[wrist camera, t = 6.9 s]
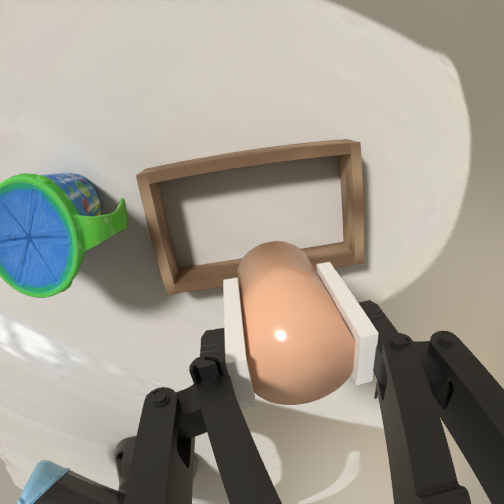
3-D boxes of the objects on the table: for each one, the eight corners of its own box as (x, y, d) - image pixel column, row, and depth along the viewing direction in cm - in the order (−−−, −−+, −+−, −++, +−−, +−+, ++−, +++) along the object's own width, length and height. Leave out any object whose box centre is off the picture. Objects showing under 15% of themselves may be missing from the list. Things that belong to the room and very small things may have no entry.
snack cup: (141, 156, 29) (105, 174, 20) (141, 256, 33) (114, 308, 24) (14, 160, 27) (-44, 180, 18) (23, 248, 31) (-24, 289, 22)
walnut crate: (352, 249, 35) (364, 262, 32) (171, 278, 34) (166, 294, 31) (346, 139, 30) (360, 142, 27) (145, 169, 30) (136, 175, 26)
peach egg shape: (313, 302, 21) (353, 392, 13) (242, 314, 20) (254, 412, 13) (309, 235, 19) (361, 311, 11) (230, 247, 19) (237, 333, 11)
